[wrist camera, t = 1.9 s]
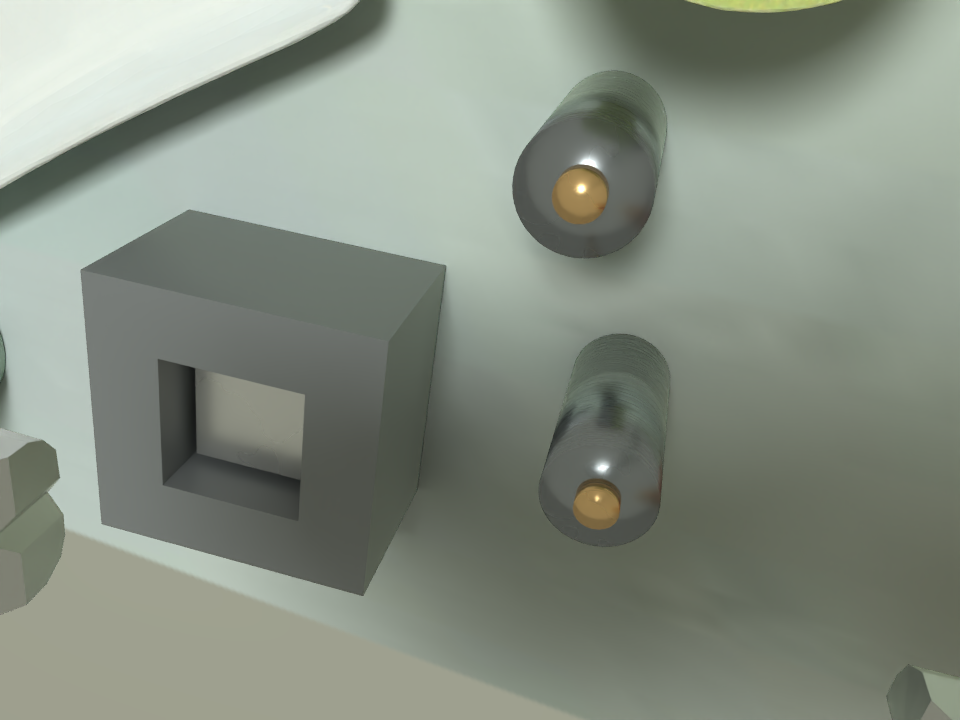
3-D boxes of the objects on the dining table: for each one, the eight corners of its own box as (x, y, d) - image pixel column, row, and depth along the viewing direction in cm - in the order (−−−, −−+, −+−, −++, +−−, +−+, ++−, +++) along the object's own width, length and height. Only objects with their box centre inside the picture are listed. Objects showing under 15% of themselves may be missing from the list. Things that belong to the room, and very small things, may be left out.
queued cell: (583, 324, 29) (546, 444, 22) (680, 346, 28) (672, 475, 22) (565, 407, 30) (525, 543, 24) (657, 429, 30) (643, 573, 23)
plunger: (210, 333, 28) (195, 346, 27) (328, 361, 28) (316, 376, 27) (211, 437, 30) (196, 453, 29) (321, 466, 29) (310, 482, 29)
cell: (568, 61, 25) (519, 110, 19) (678, 81, 25) (669, 139, 18) (548, 169, 27) (497, 251, 20) (653, 190, 26) (635, 280, 20)
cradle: (178, 207, 30) (67, 266, 25) (445, 265, 29) (388, 341, 24) (184, 430, 35) (90, 520, 29) (417, 490, 33) (363, 596, 28)
